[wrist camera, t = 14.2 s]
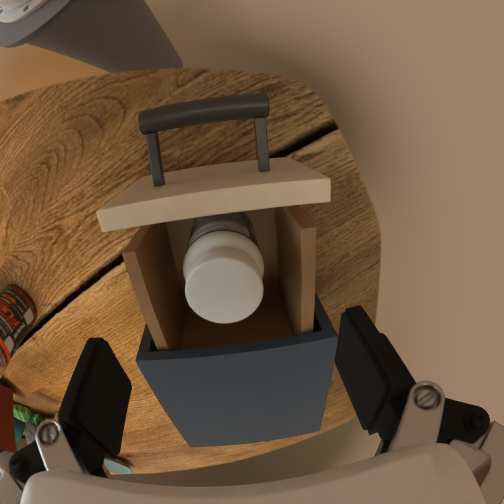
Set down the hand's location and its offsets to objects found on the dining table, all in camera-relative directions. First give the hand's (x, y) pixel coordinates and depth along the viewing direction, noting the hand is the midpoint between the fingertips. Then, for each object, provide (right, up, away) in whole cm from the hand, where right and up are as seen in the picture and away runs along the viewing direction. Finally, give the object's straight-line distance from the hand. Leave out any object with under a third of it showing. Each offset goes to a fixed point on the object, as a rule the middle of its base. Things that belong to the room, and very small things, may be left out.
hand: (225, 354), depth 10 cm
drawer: (-1, +7, +12) cm, 14 cm away
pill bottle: (-1, +6, +11) cm, 13 cm away
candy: (-48, -30, +25) cm, 62 cm away
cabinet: (-1, -3, +18) cm, 18 cm away
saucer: (-33, -46, +35) cm, 67 cm away
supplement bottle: (-28, -2, +14) cm, 31 cm away
